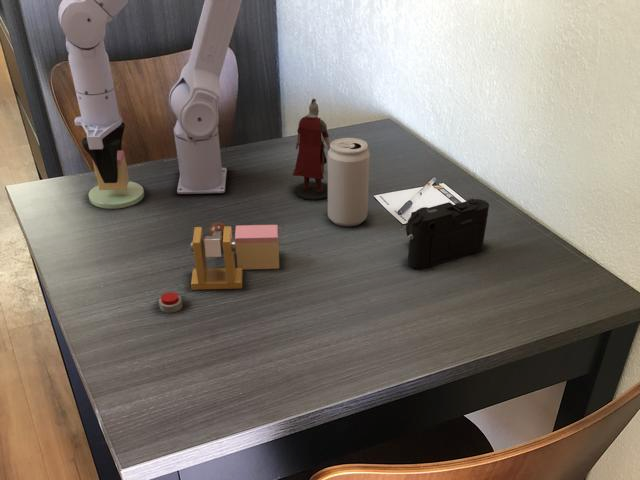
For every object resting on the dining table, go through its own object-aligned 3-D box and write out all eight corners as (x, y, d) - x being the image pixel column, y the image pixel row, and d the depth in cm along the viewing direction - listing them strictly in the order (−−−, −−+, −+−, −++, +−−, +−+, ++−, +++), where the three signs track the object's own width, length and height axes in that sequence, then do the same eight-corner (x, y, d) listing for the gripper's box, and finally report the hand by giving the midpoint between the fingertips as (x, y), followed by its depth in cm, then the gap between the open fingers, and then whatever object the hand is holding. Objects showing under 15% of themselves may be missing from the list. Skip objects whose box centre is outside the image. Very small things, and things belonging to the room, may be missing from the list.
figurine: (339, 187, 126) (340, 95, 116) (323, 204, 121) (323, 110, 111) (303, 180, 128) (302, 89, 117) (286, 197, 123) (283, 104, 112)
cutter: (210, 241, 111) (208, 220, 110) (230, 240, 111) (228, 220, 110) (202, 259, 99) (200, 237, 98) (224, 259, 99) (223, 236, 98)
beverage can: (363, 230, 115) (366, 154, 106) (323, 226, 116) (323, 150, 107) (370, 212, 119) (373, 138, 111) (331, 208, 120) (332, 134, 112)
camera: (462, 230, 115) (468, 181, 110) (490, 250, 111) (499, 199, 105) (386, 252, 110) (389, 201, 104) (413, 273, 106) (418, 222, 100)
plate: (94, 185, 125) (93, 180, 125) (147, 184, 126) (146, 179, 125) (85, 209, 119) (83, 204, 118) (141, 208, 119) (140, 203, 119)
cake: (238, 256, 109) (235, 225, 105) (278, 255, 109) (277, 224, 105) (238, 269, 106) (235, 238, 102) (279, 268, 106) (277, 237, 103)
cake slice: (102, 180, 122) (96, 150, 119) (129, 180, 122) (123, 150, 119) (99, 190, 119) (92, 160, 116) (126, 190, 120) (120, 159, 116)
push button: (167, 315, 97) (166, 305, 96) (155, 305, 99) (153, 296, 98) (186, 306, 99) (185, 297, 98) (174, 297, 100) (172, 288, 99)
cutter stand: (193, 274, 105) (187, 227, 100) (242, 272, 105) (238, 225, 100) (191, 290, 102) (184, 242, 97) (242, 289, 102) (237, 241, 97)
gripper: (76, 73, 115) (95, 158, 125) (58, 105, 105) (80, 196, 114) (121, 72, 116) (137, 158, 125) (108, 105, 105) (125, 195, 115)
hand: (112, 176), depth 120 cm, fingers closed on cake slice, 4 cm apart
